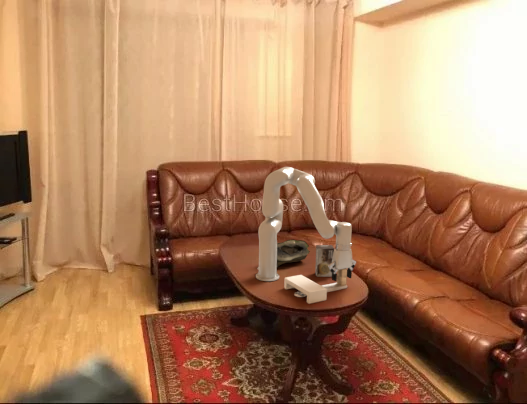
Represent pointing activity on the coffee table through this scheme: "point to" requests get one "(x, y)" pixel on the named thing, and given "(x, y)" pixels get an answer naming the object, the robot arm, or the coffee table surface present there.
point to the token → (300, 294)
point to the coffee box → (323, 260)
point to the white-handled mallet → (338, 281)
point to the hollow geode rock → (291, 251)
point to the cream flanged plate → (306, 288)
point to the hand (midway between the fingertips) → (341, 278)
